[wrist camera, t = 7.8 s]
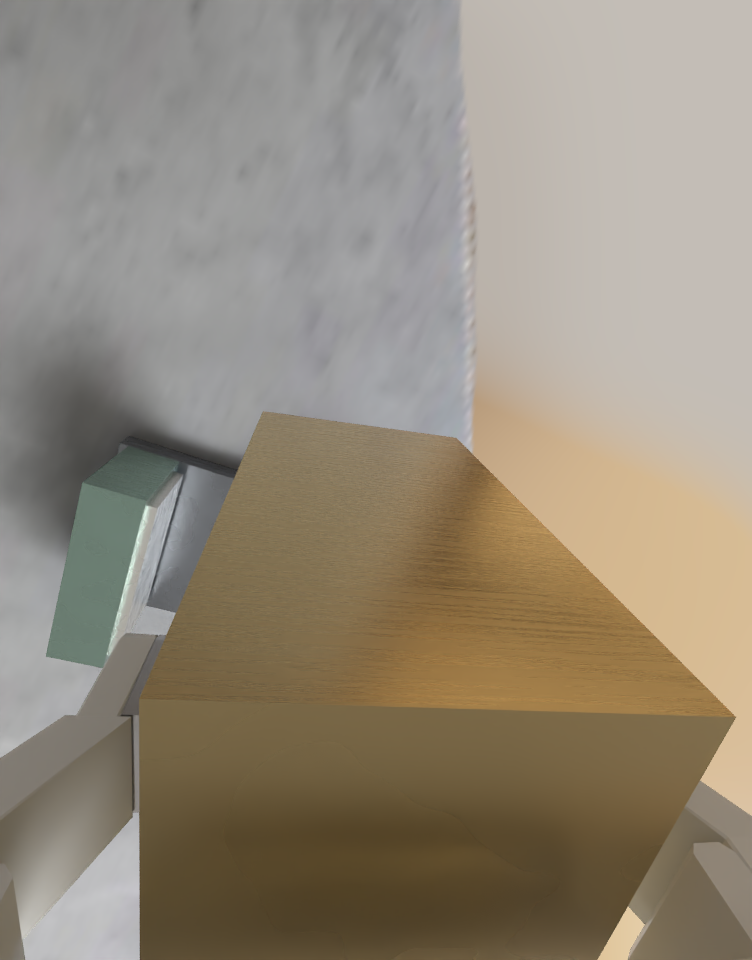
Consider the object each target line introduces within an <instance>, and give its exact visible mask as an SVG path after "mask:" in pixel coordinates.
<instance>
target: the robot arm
mask: <svg viewBox="0 0 752 960" xmlns="http://www.w3.org/2000/svg"><path fill="white" fill-rule="evenodd" d="M165 638H166V635H159V636H158V635H148V634H133V633H126V634H125V635H123V636H122V637H121V638H120V639H119V640H118V642H117V644H116V646H115V647H114V649H113V651H112V653H111V654H110V656H109V658H108V660H107V661H106V663H105V665H104V667H103V669H102V670H101V672H100V674H99V676H98V677H97V679H96V681H95V683H94V685H93V686H92V688H91V690H90V692H89V693H88V695H87V697H86V699H85V701H84V702H83V704H82V706H81V708H80V709H79V711H78V713H77V715H65V716H63V717H62V718H60V719H59V720H57V721H56V722H54V723H53V724H51V725H49V726H48V727H46V728H45V729H43V730H42V731H40V732H39V733H37V734H36V735H34V736H33V737H31V738H30V739H28V740H27V741H25V742H24V743H22V744H21V745H19V746H18V747H16V748H15V749H13V750H12V751H10V752H9V753H7V754H6V755H4V756H3V757H1V758H0V960H25V956H24V949H23V942H22V941H23V940H24V938H25V937H26V936H27V935H28V934H29V933H30V932H31V931H32V929H33V928H34V927H35V926H36V925H37V924H38V923H39V922H40V920H41V919H42V918H43V917H44V916H45V915H46V914H47V913H48V911H49V910H50V909H51V908H52V907H53V906H54V905H55V904H56V902H57V901H58V900H59V899H60V898H61V897H62V896H63V895H64V893H65V892H66V891H67V890H68V889H69V888H70V887H71V886H72V884H73V883H74V882H75V881H76V880H77V879H78V878H79V877H80V875H81V874H82V873H83V872H84V871H85V870H86V869H87V868H88V866H89V865H90V864H91V863H92V862H93V861H94V860H95V859H96V857H97V856H98V855H99V854H100V853H101V852H102V851H103V850H104V848H105V847H106V846H107V845H108V844H109V843H110V842H111V841H112V839H113V838H114V837H115V836H116V835H117V834H118V833H119V832H120V830H121V829H122V828H123V827H124V826H125V825H126V824H127V823H128V821H129V820H130V819H131V818H132V817H133V814H132V813H136V812H139V698H140V696H141V693H142V691H143V689H144V686H145V684H146V682H147V679H148V677H149V675H150V672H151V670H152V668H153V665H154V663H155V661H156V659H157V656H158V654H159V652H160V649H161V647H162V645H163V642H164V640H165ZM628 906H629V908H631V910H632V911H633V912H634V913H635V914H636V915H637V916H638V917H639V919H641V921H642V922H643V923H644V924H645V926H644V927H643V929H642V931H641V932H640V934H639V936H638V937H637V939H636V941H635V942H634V944H633V946H632V947H631V949H630V953H629V957H628V960H752V816H751V815H749V814H747V813H746V812H745V811H743V810H742V809H741V808H739V807H738V806H736V805H734V804H733V803H732V802H730V801H729V800H727V799H726V798H725V797H723V796H722V795H720V794H719V793H717V792H716V791H714V790H713V789H711V788H710V787H709V786H707V785H706V784H704V783H703V782H701V781H699V783H698V785H697V786H696V788H695V790H694V792H693V793H692V795H691V797H690V799H689V800H688V802H687V804H686V805H685V807H684V809H683V811H682V812H681V814H680V816H679V818H678V819H677V821H676V823H675V825H674V826H673V828H672V830H671V832H670V833H669V835H668V837H667V839H666V840H665V842H664V844H663V846H662V847H661V849H660V851H659V853H658V854H657V856H656V858H655V860H654V861H653V863H652V865H651V867H650V868H649V870H648V872H647V874H646V875H645V877H644V879H643V881H642V882H641V884H640V886H639V888H638V889H637V891H636V893H635V895H634V896H633V898H632V900H631V902H630V903H629V905H628Z"/></svg>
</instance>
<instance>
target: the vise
mask: <svg viewBox="0 0 752 960" xmlns="http://www.w3.org/2000/svg"><path fill="white" fill-rule="evenodd" d="M236 473H237V470H234V469H231V468H228V467H225V466H221V465H218V464H215V463H212V462H209V461H206V460H203V459H199V458H196V457H193V456H190V455H187V454H184V453H180V452H177V451H174V450H171V449H168V448H165V447H162V446H158V445H155V444H152V443H149V442H146V441H143V440H139V439H136V438H133V437H130V436H129V437H127V438H126V439H125V440H123V441H122V442H121V443H120V444H119V449H118V453H117V455H116V456H115V457H114V458H113V459H111V460H110V461H109V462H108V463H106V464H105V465H104V466H103V467H101V468H100V469H99V470H98V471H96V472H95V473H94V474H92V475H91V476H90V477H89V478H87V479H86V480H85V481H84V482H82V486H81V491H80V496H79V501H78V505H77V510H76V515H75V520H74V525H73V529H72V534H71V539H70V544H69V548H68V553H67V558H66V563H65V567H64V572H63V577H62V582H61V586H60V591H59V596H58V601H57V606H56V610H55V615H54V620H53V625H52V629H51V634H50V639H49V644H48V648H47V653H46V657H51V658H56V659H61V660H66V661H71V662H76V663H81V664H86V665H91V666H95V667H100V668H103V667H104V665H105V663H106V661H107V660H108V658H109V656H110V654H111V653H112V651H113V649H114V647H115V646H116V644H117V642H118V640H119V639H120V638H121V637H122V636H123V635H125V634H126V633H131V632H132V630H133V628H134V626H135V625H136V623H137V621H138V619H139V617H140V616H141V614H142V612H143V610H144V608H145V607H146V606H150V607H154V608H159V609H163V610H167V611H171V612H175V613H176V612H177V610H178V607H179V605H180V603H181V601H182V598H183V596H184V594H185V591H186V589H187V587H188V584H189V582H190V580H191V577H192V575H193V573H194V570H195V568H196V566H197V563H198V561H199V559H200V556H201V554H202V552H203V549H204V547H205V545H206V542H207V540H208V538H209V536H210V533H211V531H212V529H213V526H214V524H215V522H216V519H217V517H218V515H219V512H220V510H221V508H222V505H223V503H224V501H225V498H226V496H227V494H228V491H229V489H230V487H231V484H232V482H233V480H234V478H235V475H236Z"/></svg>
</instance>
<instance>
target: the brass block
mask: <svg viewBox="0 0 752 960" xmlns="http://www.w3.org/2000/svg"><path fill="white" fill-rule="evenodd" d="M735 718H736V717H735V716H734V715H733V714H732V713H731V712H730V711H729V710H728V709H727V708H726V707H725V706H724V705H723V704H722V703H721V702H720V701H719V700H718V699H717V698H716V697H715V696H714V695H713V694H712V693H711V692H710V691H709V690H708V689H707V688H706V687H705V686H704V685H703V684H702V683H701V682H700V681H699V680H698V679H697V678H696V677H695V676H694V675H693V674H692V673H691V672H690V671H689V670H688V669H687V668H686V667H685V666H684V665H683V664H682V663H681V662H680V661H679V660H678V659H677V658H676V657H675V656H674V655H673V654H672V653H671V652H670V651H669V650H668V649H667V648H666V647H665V646H664V645H663V644H662V643H661V642H660V641H659V640H658V639H657V638H656V637H655V636H654V635H653V634H652V633H651V632H650V631H649V630H648V629H647V628H646V627H645V626H644V625H643V624H642V623H641V622H640V621H639V620H638V619H637V618H636V617H635V616H634V615H633V614H632V613H631V612H630V611H629V610H628V609H627V608H626V607H625V606H624V605H623V604H622V603H621V602H620V601H619V600H618V599H617V598H616V597H615V596H614V595H613V594H612V593H611V592H610V591H609V590H608V589H607V588H606V587H605V586H604V585H603V584H602V583H601V582H600V581H599V580H598V579H597V578H596V577H595V576H594V575H593V574H592V573H591V572H590V571H589V570H588V569H587V568H586V567H585V566H584V565H583V564H582V563H581V562H580V561H579V560H578V559H577V558H576V557H575V556H574V555H573V554H572V553H571V552H570V551H569V550H568V549H567V548H566V547H565V546H564V545H563V544H562V543H561V542H560V541H559V540H558V539H557V538H556V537H555V536H554V535H553V534H552V533H551V532H550V531H549V530H548V529H547V528H546V527H545V526H544V525H543V524H542V523H541V522H540V521H539V520H538V519H537V518H536V517H535V516H534V515H533V514H532V513H531V512H530V511H529V510H528V509H527V508H526V507H525V506H524V505H523V504H522V503H521V502H520V501H519V500H518V499H517V498H516V497H515V496H514V495H513V494H512V493H511V492H510V491H509V490H508V489H507V488H506V487H505V486H504V485H503V484H502V483H501V482H500V481H499V480H498V479H497V478H496V477H495V476H494V475H493V474H492V473H491V472H490V471H489V470H488V469H487V468H486V467H485V466H484V465H483V464H482V463H481V462H480V461H479V460H478V459H477V458H476V457H475V456H474V455H473V454H472V453H471V452H470V451H469V450H468V449H467V448H466V447H465V446H464V445H463V444H462V443H461V442H460V441H459V440H458V439H457V438H453V437H446V436H439V435H431V434H424V433H417V432H409V431H402V430H395V429H388V428H380V427H373V426H366V425H358V424H351V423H344V422H337V421H329V420H322V419H315V418H308V417H300V416H293V415H286V414H278V413H271V412H264V411H263V413H262V415H261V417H260V419H259V422H258V424H257V426H256V429H255V431H254V433H253V436H252V438H251V440H250V443H249V445H248V447H247V450H246V452H245V454H244V457H243V459H242V461H241V464H240V466H239V468H238V471H237V473H236V475H235V478H234V480H233V482H232V484H231V487H230V489H229V491H228V494H227V496H226V498H225V501H224V503H223V505H222V508H221V510H220V512H219V515H218V517H217V519H216V522H215V524H214V526H213V529H212V531H211V533H210V536H209V538H208V540H207V542H206V545H205V547H204V549H203V552H202V554H201V556H200V559H199V561H198V563H197V566H196V568H195V570H194V573H193V575H192V577H191V580H190V582H189V584H188V587H187V589H186V591H185V594H184V596H183V598H182V601H181V603H180V605H179V607H178V610H177V612H176V614H175V617H174V619H173V621H172V624H171V626H170V628H169V631H168V633H167V635H166V638H165V640H164V642H163V645H162V647H161V649H160V652H159V654H158V656H157V659H156V661H155V663H154V665H153V668H152V670H151V672H150V675H149V677H148V679H147V682H146V684H145V686H144V689H143V691H142V693H141V696H140V698H139V833H140V960H597V959H598V957H599V956H600V954H601V952H602V951H603V949H604V947H605V945H606V944H607V942H608V940H609V938H610V937H611V935H612V933H613V931H614V930H615V928H616V926H617V924H618V923H619V921H620V919H621V917H622V915H623V914H624V912H625V910H626V908H627V907H628V905H629V903H630V902H631V900H632V898H633V896H634V895H635V893H636V891H637V889H638V888H639V886H640V884H641V882H642V881H643V879H644V877H645V875H646V874H647V872H648V870H649V868H650V867H651V865H652V863H653V861H654V860H655V858H656V856H657V854H658V853H659V851H660V849H661V847H662V846H663V844H664V842H665V840H666V839H667V837H668V835H669V833H670V832H671V830H672V828H673V826H674V825H675V823H676V821H677V819H678V818H679V816H680V814H681V812H682V811H683V809H684V807H685V805H686V804H687V802H688V800H689V799H690V797H691V795H692V793H693V792H694V790H695V788H696V786H697V785H698V783H699V781H700V779H701V778H702V776H703V774H704V772H705V771H706V769H707V767H708V765H709V764H710V762H711V760H712V758H713V757H714V755H715V753H716V751H717V749H718V747H719V746H720V744H721V743H722V741H723V739H724V737H725V736H726V734H727V732H728V730H729V729H730V727H731V725H732V723H733V722H734V720H735Z"/></svg>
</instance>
